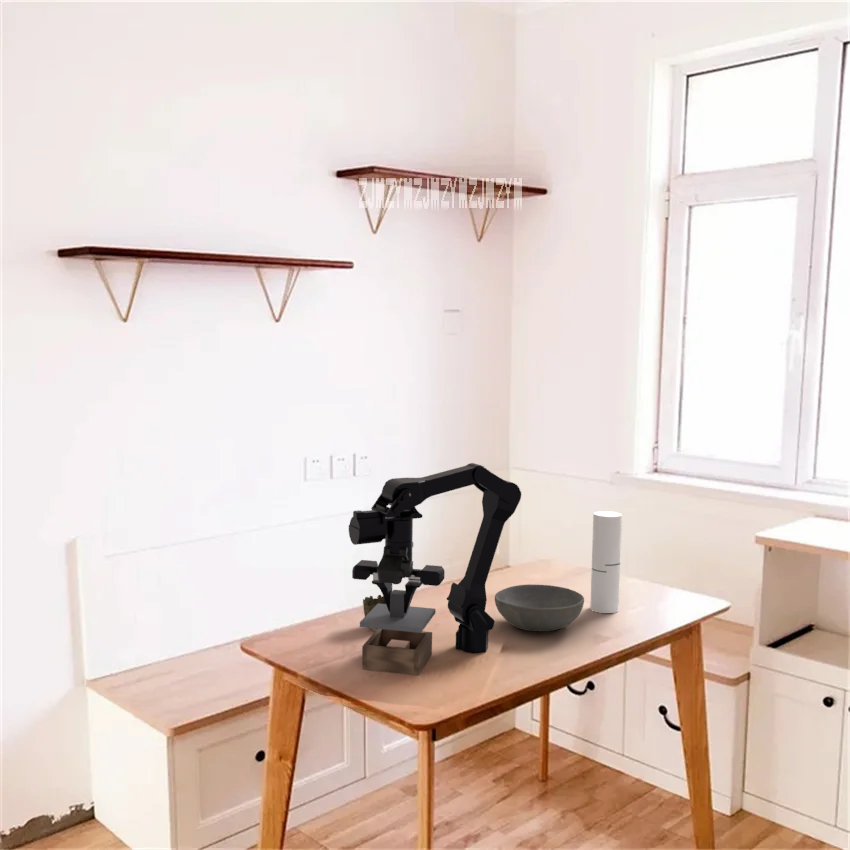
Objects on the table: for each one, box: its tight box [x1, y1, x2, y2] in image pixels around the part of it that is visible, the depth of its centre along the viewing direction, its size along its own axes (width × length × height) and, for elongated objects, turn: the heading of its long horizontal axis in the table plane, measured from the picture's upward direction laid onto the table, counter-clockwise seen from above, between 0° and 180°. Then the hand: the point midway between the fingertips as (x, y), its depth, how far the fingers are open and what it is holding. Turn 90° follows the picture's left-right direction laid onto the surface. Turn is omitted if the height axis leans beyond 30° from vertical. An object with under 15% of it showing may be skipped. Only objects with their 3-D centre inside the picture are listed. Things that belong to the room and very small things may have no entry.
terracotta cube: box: [386, 640, 410, 649], centre depth 188 cm, size 4×4×4 cm
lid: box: [359, 589, 436, 633], centre depth 187 cm, size 13×13×6 cm
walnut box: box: [361, 629, 433, 677], centre depth 188 cm, size 12×12×6 cm
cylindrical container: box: [589, 510, 623, 614], centre depth 226 cm, size 7×7×25 cm
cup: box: [362, 594, 386, 632], centre depth 208 cm, size 8×7×8 cm
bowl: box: [494, 583, 585, 632], centre depth 213 cm, size 21×21×8 cm
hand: (398, 612), depth 187 cm, fingers closed on lid, 3 cm apart
